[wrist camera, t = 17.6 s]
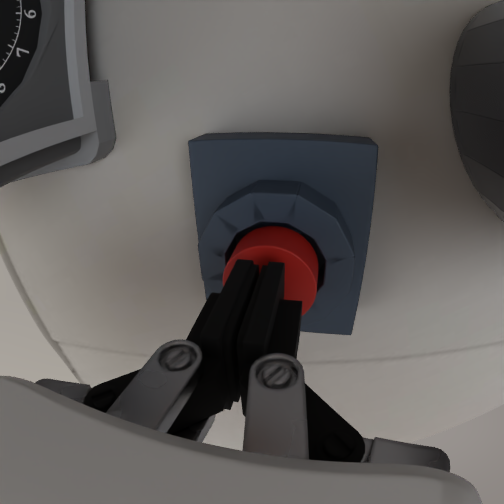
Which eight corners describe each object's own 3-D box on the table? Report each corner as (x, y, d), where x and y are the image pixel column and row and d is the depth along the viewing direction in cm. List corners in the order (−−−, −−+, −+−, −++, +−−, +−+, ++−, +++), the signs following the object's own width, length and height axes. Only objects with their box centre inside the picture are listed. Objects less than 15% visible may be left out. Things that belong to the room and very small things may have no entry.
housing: (350, 310, 18) (351, 360, 15) (220, 298, 20) (198, 342, 16) (370, 137, 13) (387, 153, 10) (205, 133, 15) (169, 148, 11)
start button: (315, 302, 14) (312, 328, 12) (236, 295, 15) (226, 319, 13) (321, 228, 12) (320, 249, 11) (231, 222, 13) (218, 242, 11)
